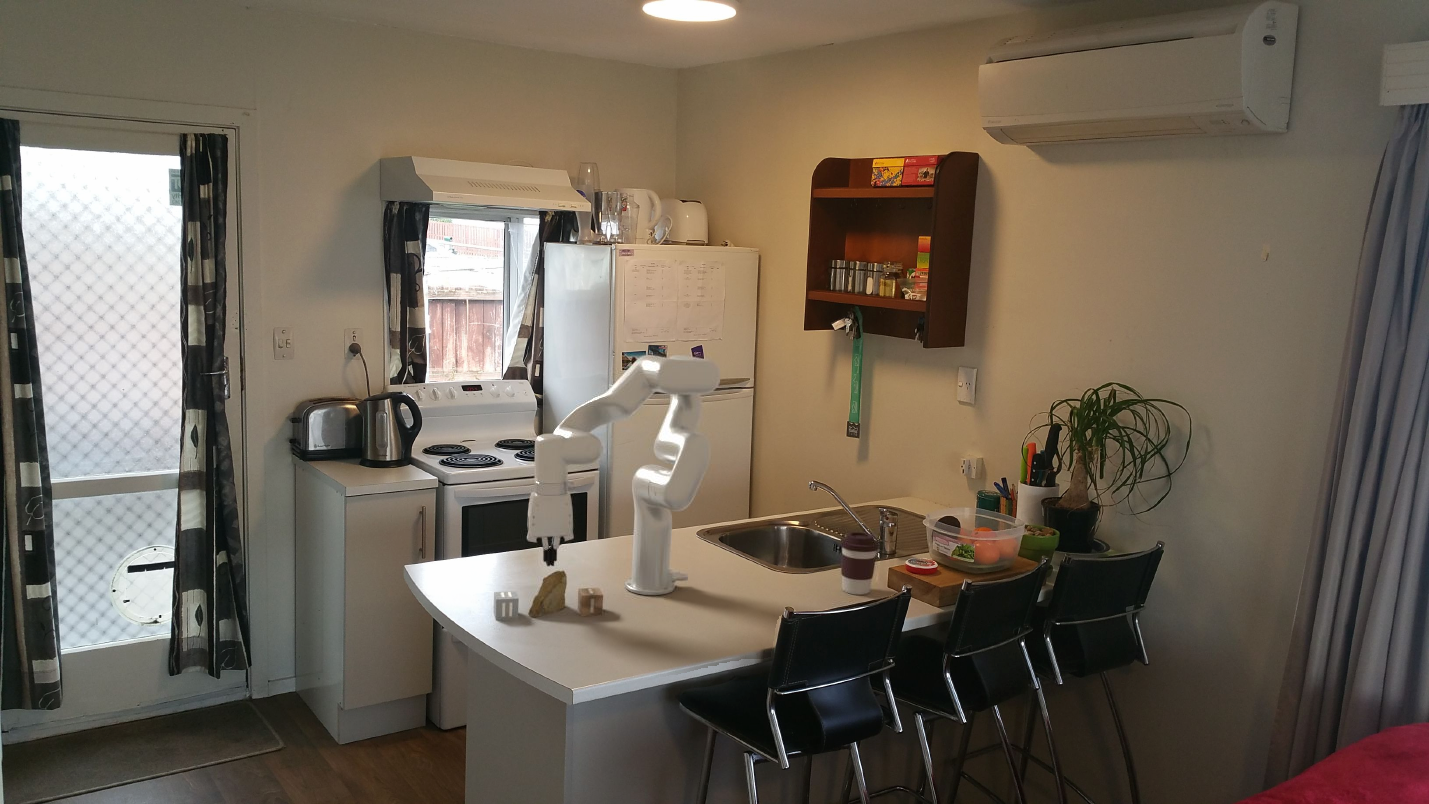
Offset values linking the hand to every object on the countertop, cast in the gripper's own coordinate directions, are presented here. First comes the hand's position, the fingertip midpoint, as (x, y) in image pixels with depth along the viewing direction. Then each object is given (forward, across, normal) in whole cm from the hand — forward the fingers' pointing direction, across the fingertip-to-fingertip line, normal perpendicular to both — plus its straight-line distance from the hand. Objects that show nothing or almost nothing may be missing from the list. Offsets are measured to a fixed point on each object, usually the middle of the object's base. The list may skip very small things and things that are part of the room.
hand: (549, 564), depth 242 cm
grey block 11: (+11, +10, +2) cm, 15 cm away
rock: (+12, +1, 0) cm, 12 cm away
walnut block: (+12, -9, +2) cm, 15 cm away
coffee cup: (+13, -80, -4) cm, 81 cm away
